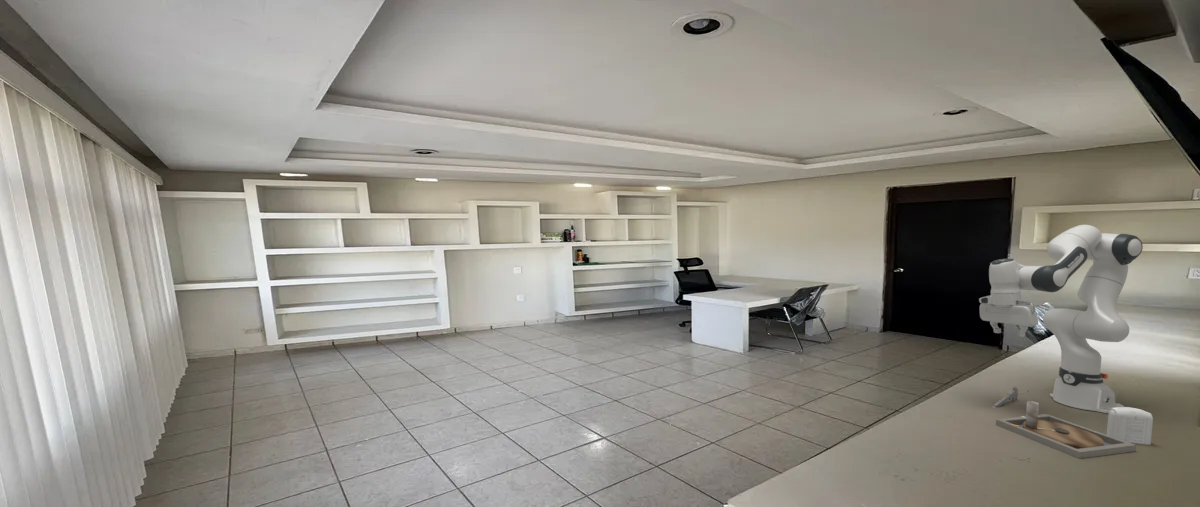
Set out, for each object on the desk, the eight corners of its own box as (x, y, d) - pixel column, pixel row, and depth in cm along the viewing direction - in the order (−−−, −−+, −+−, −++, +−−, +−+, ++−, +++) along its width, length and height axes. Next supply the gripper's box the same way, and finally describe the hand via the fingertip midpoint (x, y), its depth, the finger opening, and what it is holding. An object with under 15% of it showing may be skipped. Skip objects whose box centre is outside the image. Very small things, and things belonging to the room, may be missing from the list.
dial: (1082, 430, 156) (1084, 401, 155) (1118, 455, 138) (1121, 422, 138) (1013, 420, 163) (1014, 392, 163) (1038, 443, 146) (1040, 411, 146)
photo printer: (1142, 442, 150) (1145, 407, 149) (1153, 448, 146) (1156, 412, 145) (1103, 438, 153) (1105, 403, 152) (1113, 444, 149) (1115, 408, 148)
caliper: (1014, 400, 188) (1015, 385, 187) (1017, 401, 187) (1018, 386, 186) (991, 408, 178) (992, 393, 178) (994, 409, 177) (995, 394, 177)
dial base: (1046, 422, 165) (1046, 413, 165) (1135, 454, 142) (1136, 444, 142) (995, 427, 160) (995, 418, 160) (1078, 462, 137) (1079, 451, 137)
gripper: (1041, 301, 164) (1044, 338, 164) (989, 297, 185) (992, 330, 184) (1025, 302, 164) (1029, 340, 164) (975, 298, 184) (978, 331, 184)
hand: (1009, 334), depth 174 cm, fingers open, 8 cm apart
